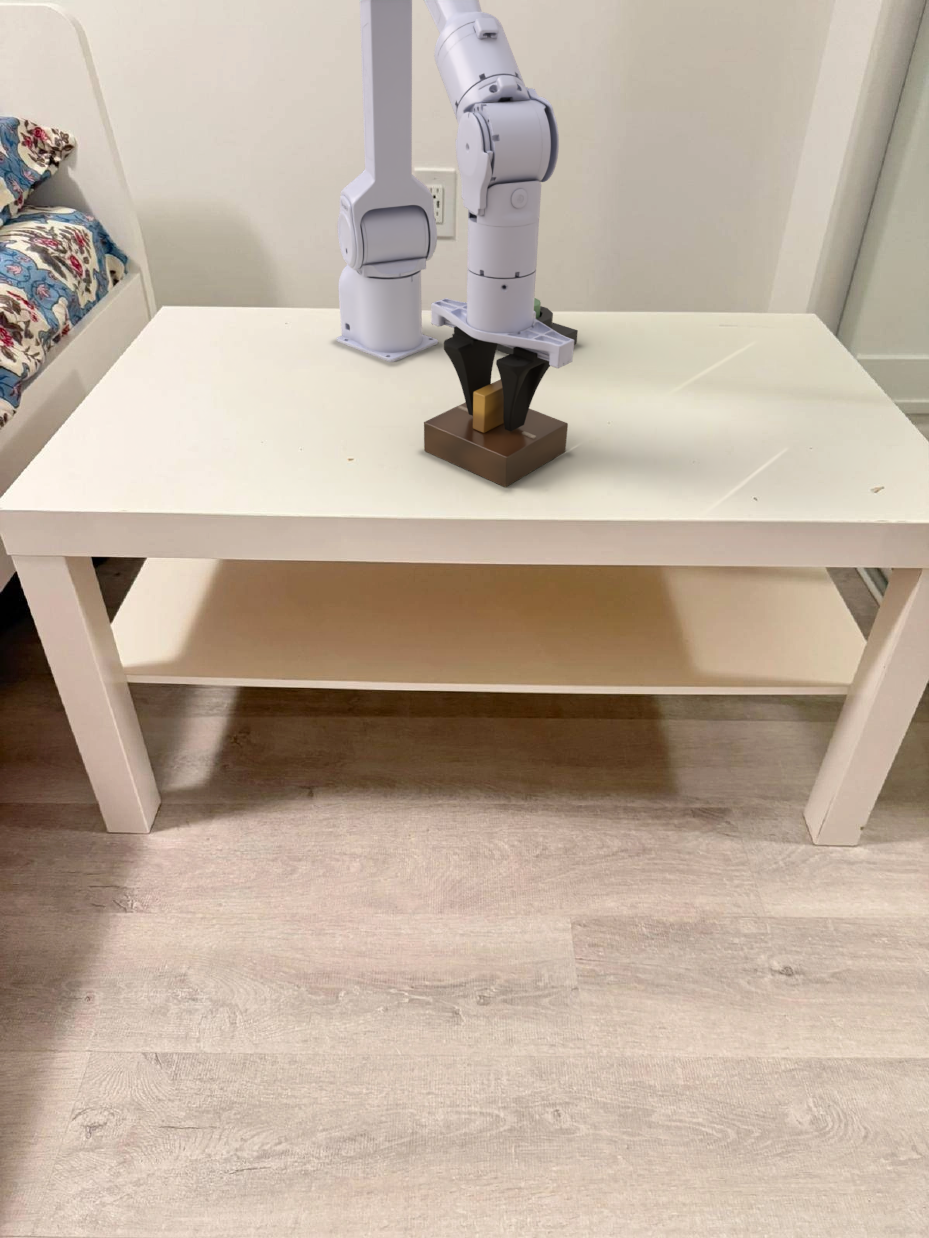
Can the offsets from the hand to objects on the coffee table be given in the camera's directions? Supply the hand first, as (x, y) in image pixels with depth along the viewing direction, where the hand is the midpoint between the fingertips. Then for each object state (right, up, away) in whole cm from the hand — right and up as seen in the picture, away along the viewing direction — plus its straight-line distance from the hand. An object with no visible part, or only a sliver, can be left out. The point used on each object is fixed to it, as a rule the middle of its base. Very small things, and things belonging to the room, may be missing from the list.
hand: (496, 419), depth 81 cm
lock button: (+4, +17, +21) cm, 27 cm away
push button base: (+4, +14, +23) cm, 28 cm away
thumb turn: (0, 0, 0) cm, 0 cm away
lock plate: (0, -3, +2) cm, 3 cm away
